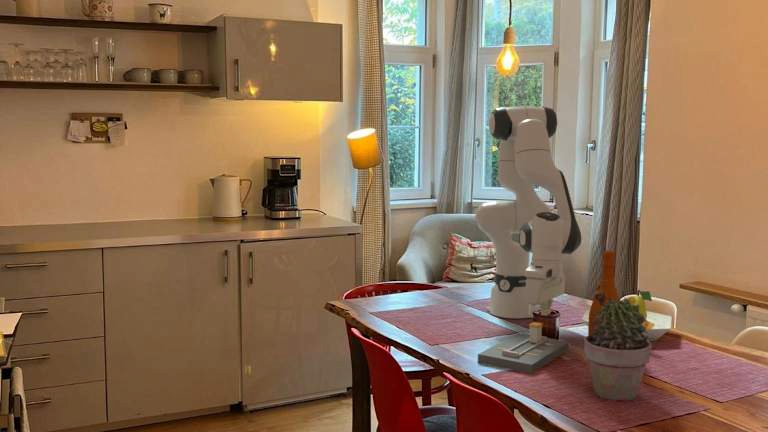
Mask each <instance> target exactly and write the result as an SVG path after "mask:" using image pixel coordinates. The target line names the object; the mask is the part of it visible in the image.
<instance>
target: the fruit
mask: <svg viewBox="0 0 768 432" xmlns="http://www.w3.org/2000/svg"><path fill="white" fill-rule="evenodd" d="M627 299H628V300H629V302H630V304H631V305H639V306H640V307H639V312H640V313H641V314H643V315H644V316H646V317H644V318H645V320H646V321H644V322H643V324H642V325H643V326H644V327H645V328H646V330H645V332H647V333H645V332H643V333H642V334H643V335H644V336H648V337H647V338H650V339H647V340H648V341H649V342H653V341H654V342H656V341H658V340H659V339H660V337H662V336H663V335H664V334H666V333H667V332H669V331H670V330H671V328H672V316H671V315H666V314H663V313H657V312H654V311H653V312H652V311H648V310H646V302H645V300H646V301H649V302H652V296H651V292H650V291H645V290H643V291H641V290H640V289H637V292H636V295H635V296H629V297H628V298H627ZM590 309H591V308H587V309H586V311H585V313H584V314H583V317H582V318H581V321H582V322H583V324H585V326H587V327H588V325H589V319H587V318H589V313H590ZM647 321H649V322H647ZM587 322H588V323H587ZM650 322H651V323H650ZM657 325H658V326H657ZM654 339H655V340H654Z"/></svg>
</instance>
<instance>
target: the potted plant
mask: <svg viewBox="0 0 768 432" xmlns="http://www.w3.org/2000/svg"><path fill="white" fill-rule="evenodd" d="M607 294H608V292H607ZM607 294H606V295H607ZM609 294H610V293H609ZM594 295H595V297H594V298H596V301H598V302H599V304H600V305H602V306H603V308H602V310H598V309H596V310H594V311H595V312H597V315H598V316H596V317H595V318H596V320H593V321H592V322H593V323H594V324H596V325H595V326H596V327H595V326H592V327H593V328H594V327H595V329H592V330H591V331H592V333H593V334H592V335H589V336H587V335H586V337H584V341H583V342H584V355H585V357H586V358H587V360H588V365H589V370H590V376H591V380H592V385H593V389H594V393H596V394H597V395H596V394H595V395H596V396H598V397H599V396H600V397H599V398H601V397H602V398H601V399H604V398H605V400H608V399H611V400H610V401H614V400H621V401H620V402H622V401H624V402H627V401H628V400H629V401H631V400H634V399H636V398H637V396H638V392H639V390H640V386H641V383H642V380H643V375H644V373H645V370H646V366H647V364H648V363H650V357H651V352H652V347H653V349H655V347H654V345H653V344H651V341H648V340H647V339H650V338H647V337H648V336H644V335H643V334H642V333H643V332H645V330H646V328H645V327H644V326H643V325H642V324H643V322H644V321H646V320H645V318H644V317H646V316H644V315H643V314H641V313H640V312H639V307H640V306H639V305H631V304H630V302H629V300H628V299H629V298H626V297H624V299H623V300H621V299H620V300H621V301H620V300H619V298H620V297H619V298H618V297H617V298H615V299H616V300H615V299H614V300H615V301H614V300H612V299H611V298H610V299H608V300H609V301H610V302H609V301H608V302H607V303H606V304H605V303H604V302H605V299H606V298H607V297H606V295H605V294H604V292H603V291H602V290H601V289H599V290H597V289H596V290H595V294H594ZM610 295H611V294H610ZM608 298H609V297H608ZM580 319H581V318H580ZM580 319H578V320H580ZM587 319H589V318H587ZM647 322H649V321H647ZM587 323H588V322H587ZM650 323H651V322H650ZM657 326H658V325H657ZM587 328H588V326H587ZM593 330H595V331H593ZM645 333H647V332H645ZM654 340H655V339H654ZM657 341H659V342H661V343H663V341H662V340H659V339H657ZM655 346H656V347H658V345H656V344H655Z"/></svg>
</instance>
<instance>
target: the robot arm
mask: <svg viewBox="0 0 768 432" xmlns="http://www.w3.org/2000/svg"><path fill="white" fill-rule="evenodd" d="M557 117H558V116H557V114H556V112H555V110H554V108H551V107H547V106H541V107H540V106H535V105H534V106H531V105H522V106H509V107H505V106H502V107H498V108H494V109H493V110H492V111H491V112H490V116H489V119H488V128H489V132H490V135H491V136H492V137H493V138H494V139H496V140H500V141H499V143H500V144H499V150H498V167H497V168H498V174H497V175H498V176H497V181H498V183H499V185H500V187H502V188H503V189H505V190H507V191H509V192H510V193H512V194H514V195H515V199H516V200H494V201H488V202H483V203H481V204H480V205H479V206H478V208H477V209H476V212H475V218H474V219H475V223H476V226H477V227H478V228H479V230H480V231H482V232H483V233H484V234H485V235H486V236H487V237H488V238H489V240H490V241H491V243H492V245H493V247H494V248H493V249H494V252H495V263H496V264H495V265H496V267H495V268H496V269H495V270H496V271H495V273H494V286H492V287H491V290H490V291H491V292H490V301H489V306H487V307H486V311H488V312H489V313H490V314H491V315H493V316H496V317H499V318H505V319H528V318H530V319H531V318H532V319H533V316H532V313H533V311H538V310H541V314H540V316H541V315H542V316H547V315H549V314H551V308H552V305H553V301H554V299H555V298H558V297H560V296H562V295H564V293H565V284H566V283H565V282H566V281H565V273H564V271H563V254H564V255H571V254H573V253H574V252H575V251H577V250H578V249H579V247H580V246H581V244H582V233H581V229H580V227H579V224H578V221H577V218H576V214H575V212H574V210H575V209H574V207H573V203H572V199H571V195H570V190H569V188H568V184H567V183H568V182H567V180H566V177H565V174H564V173H563V171H562V170H560V169H558V167H557V166H556V165H555V163H554V160H553V158H552V151H551V150H552V149H551V143H550V142H551V141H550V138H552V137H553V136H554V135H555V134H556V132H557V127H558V118H557ZM534 185H535V186H538V187H541V188H542V189H544V190H546V191H548V192H549V193H550V194H551V196H553V200H554V204H555V208H556V211H557V213H556V212H555V213H554V212H552V210H551V208H550V206H549V205H548V204H547V203H546V202H544V201H543V199H541V198H540V197H539V195H538V194H537V192H536V190H535V187H534ZM513 234H519V237H518V239H519V242H516V241H514V239H513V238H512V235H513ZM530 253H532V256H531V262H530Z"/></svg>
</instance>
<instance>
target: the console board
mask: <svg viewBox="0 0 768 432" xmlns="http://www.w3.org/2000/svg"><path fill="white" fill-rule="evenodd" d="M569 350H570V341H567V340H564V339H563V340H561V339H556V338H549V337H547V336H543V335H541V341H540V342H538V343H532V342H529V334H527V333H522V332H518V333H516V334H514V335H512V336H510V337H508V338H506V339H504V340H503V341H500V342H499V343H497V344H495V345H493V346H491V347H488V348H487V349H485V350H483V351H481V352H479V353H478V354H477V364H478V363H479V364H483V365H487V366H494V367H498V368H503V369H508V370H512V371H518V372H522V373H528V374H533V373H535V372H536V371H538V370H539V369H541V368H543V367H545V366H546V365H548V364H549V363H551V362H552V361H554V360H556V359H557V358H559V357H560V356H562V355H563V354H565V353H566V352H568V351H569Z"/></svg>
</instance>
